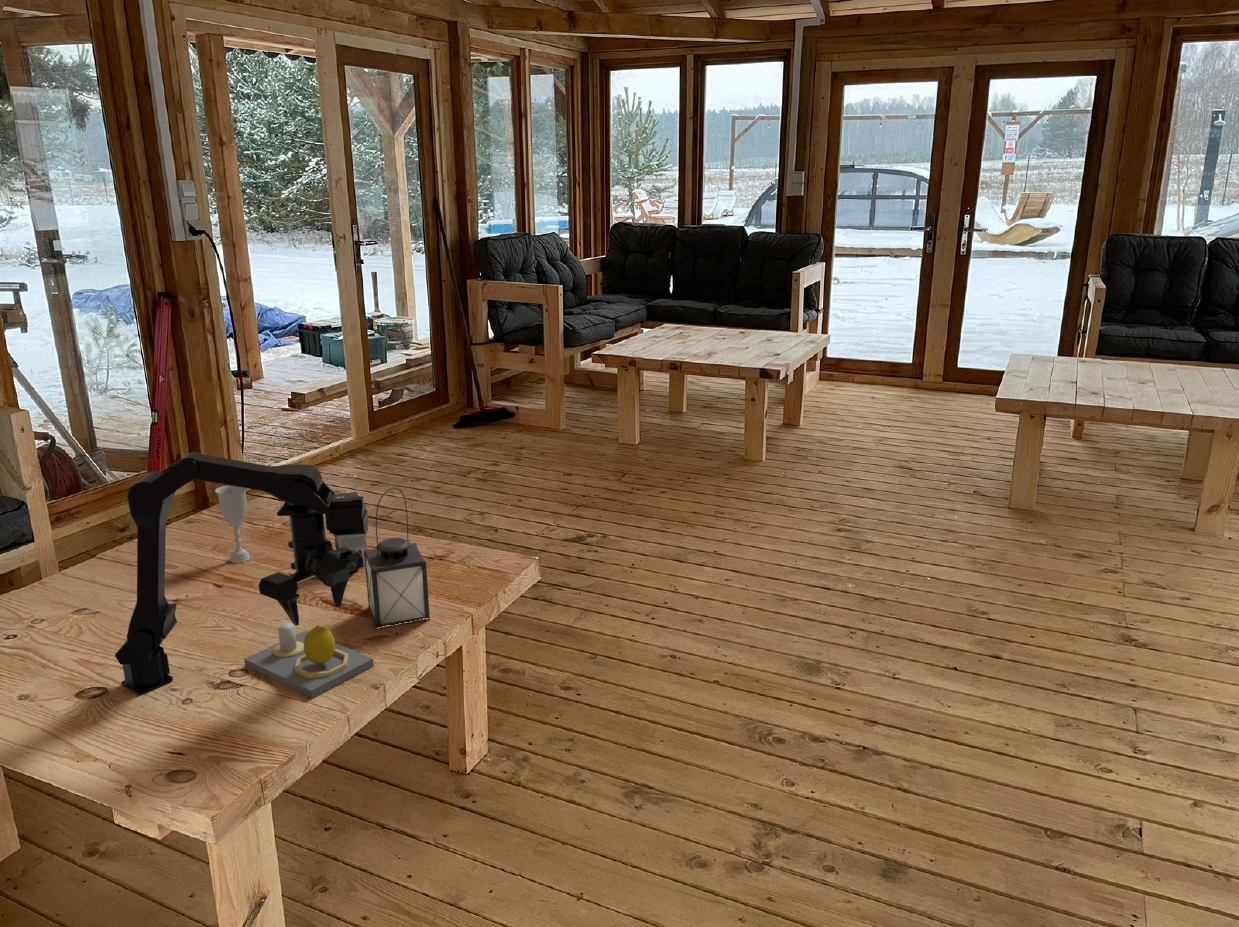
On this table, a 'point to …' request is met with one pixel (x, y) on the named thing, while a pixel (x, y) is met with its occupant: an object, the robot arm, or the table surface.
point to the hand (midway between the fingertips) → (317, 615)
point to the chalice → (234, 516)
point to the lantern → (396, 580)
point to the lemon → (319, 645)
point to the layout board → (306, 664)
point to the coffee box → (351, 541)
